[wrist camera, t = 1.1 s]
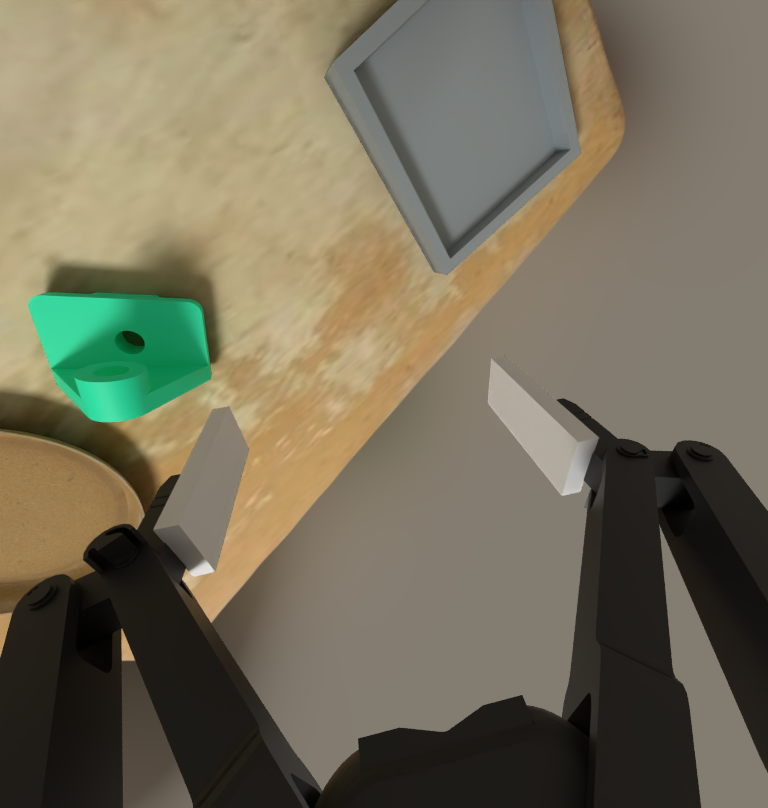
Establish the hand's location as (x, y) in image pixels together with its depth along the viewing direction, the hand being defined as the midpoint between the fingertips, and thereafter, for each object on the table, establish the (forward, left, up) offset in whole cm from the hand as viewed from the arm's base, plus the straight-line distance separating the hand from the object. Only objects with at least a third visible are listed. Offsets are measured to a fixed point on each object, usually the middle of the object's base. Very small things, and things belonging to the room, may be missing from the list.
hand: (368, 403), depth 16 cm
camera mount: (-8, -13, -24) cm, 28 cm away
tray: (-3, +25, -23) cm, 34 cm away
